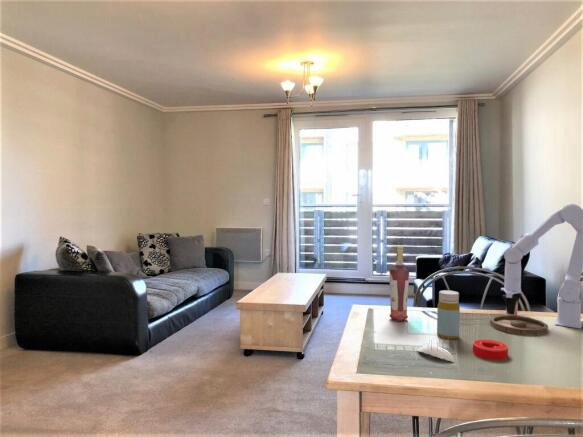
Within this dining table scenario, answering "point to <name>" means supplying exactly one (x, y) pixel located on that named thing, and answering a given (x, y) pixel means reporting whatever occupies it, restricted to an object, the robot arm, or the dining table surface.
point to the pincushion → (436, 352)
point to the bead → (514, 311)
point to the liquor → (399, 288)
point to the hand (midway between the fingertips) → (511, 312)
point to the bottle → (448, 314)
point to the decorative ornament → (490, 349)
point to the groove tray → (519, 325)
